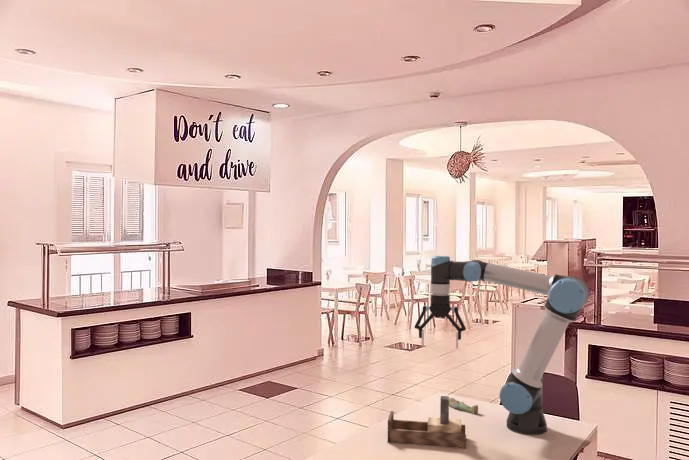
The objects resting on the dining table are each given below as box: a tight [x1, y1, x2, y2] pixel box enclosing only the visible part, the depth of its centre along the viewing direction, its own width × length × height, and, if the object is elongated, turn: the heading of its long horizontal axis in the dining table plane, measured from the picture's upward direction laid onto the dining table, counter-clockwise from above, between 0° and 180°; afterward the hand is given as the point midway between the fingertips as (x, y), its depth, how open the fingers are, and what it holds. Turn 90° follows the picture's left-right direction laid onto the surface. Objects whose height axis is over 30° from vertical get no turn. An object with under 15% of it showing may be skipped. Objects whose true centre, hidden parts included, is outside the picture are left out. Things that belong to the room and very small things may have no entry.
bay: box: [387, 410, 467, 450], centre depth 207 cm, size 28×11×8 cm, turn 79°
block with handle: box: [427, 395, 462, 434], centre depth 206 cm, size 12×8×15 cm
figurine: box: [449, 397, 479, 415], centre depth 243 cm, size 6×15×4 cm, turn 31°
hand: (439, 347), depth 225 cm, fingers open, 13 cm apart
